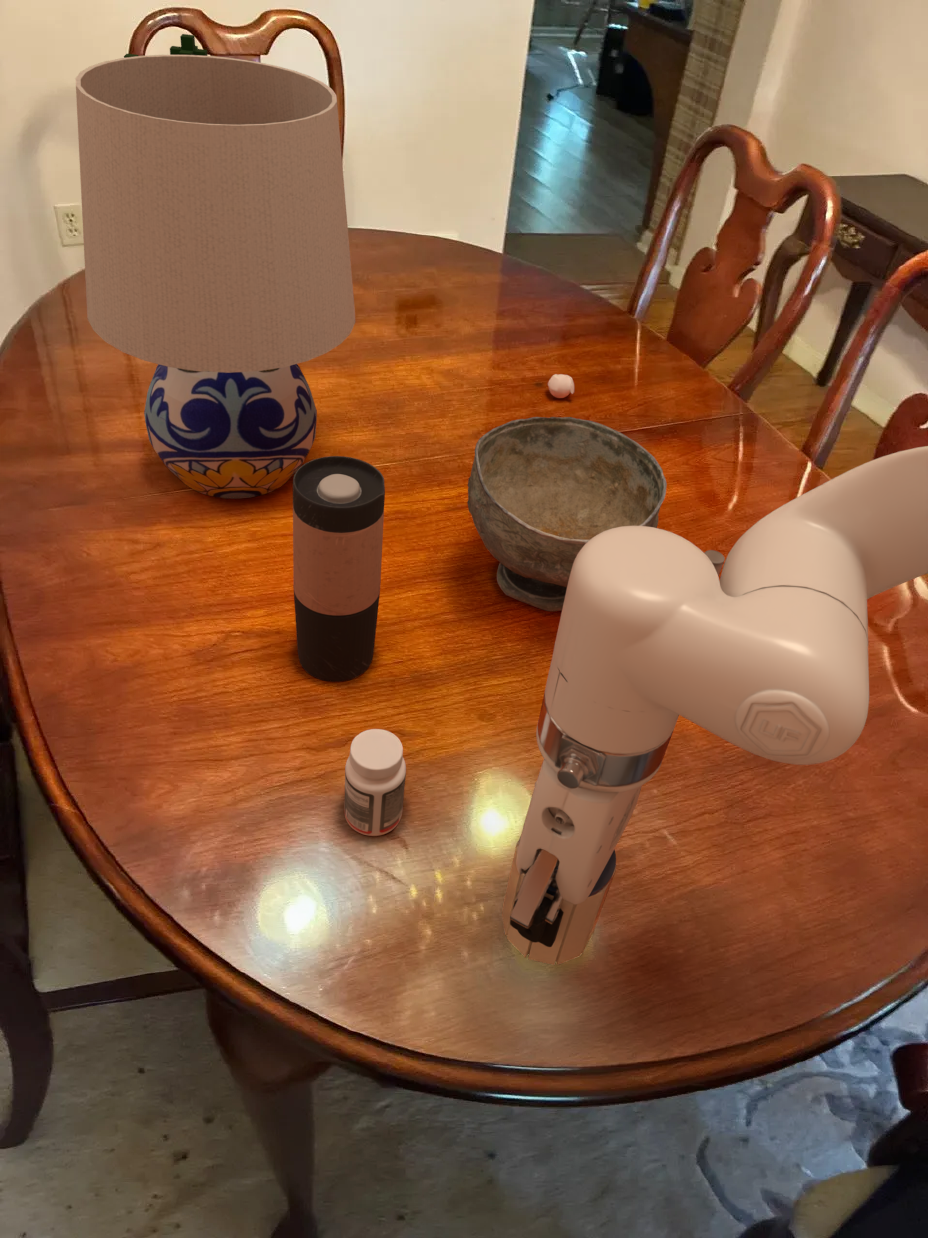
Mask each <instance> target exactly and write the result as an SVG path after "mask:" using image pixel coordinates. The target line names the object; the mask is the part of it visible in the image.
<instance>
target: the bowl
mask: <svg viewBox="0 0 928 1238" xmlns="http://www.w3.org/2000/svg"><path fill="white" fill-rule="evenodd" d="M667 486H668V483H667V480H666V477H665V475H664V470H663V468H662V467H661V465H660V464H659V462H658V460H657V459H656V458H655V456H653V454H652V453H650V452H649V451H648V450H647V449H646V448H645V447H644V446H642V445H641V444H639V442H637V441H635V440H633V439H632V438H631V437H628V436H627V435H625V434H624V433H622V432H620V431H618V430H616V429H614V428H611V427H609V426H607V425H605V424H602V423H599V422H597V421H593V420H587V419H582V418H575V417H572V416H564V417H561V416H550V417H544V416H533V417H528V418H518V419H513V420H511V421H508V422H506V423H503V424H501V425H499V426H496V427H494V428H492V429H491V430H489V431H487V432H485V434H483V435H482V436H480V437H479V439H478V440H477V442H476V444H475V448H474V457H473V462H472V466H471V471H470V476H469V477H468V479H467V502H466V503H467V508H468V512H469V513H470V515H471V519H472V523H473V525H474V527H475V528H476V531H477V534H478V535H479V537H480V539H481V541H482V543H483V545H484V547H485V549H486V550H487V551H488V552H489V553H490V555H491V556H492V557H493V558H494V559H495V560H497V561H498V562H499V563H498V566H497V570H496V581H497V585H498V586H499V588H500V589H501V591H502V592H503V593H504V594H505V596H506V597H507V596H508V597H510V598H512V599H514V600H517V601H518V602H521V603H524V604H526V605H529V606H531V607H534V608H537V609H540V610H542V611H545V612H560V611H561V612H562V609H563V604H564V599H565V595H566V590H567V585H568V581H569V576H570V573H571V570H572V566H573V563H574V560H575V558H576V556H577V554H578V553H579V551H580V550H581V549H582V547H583V546H584V545H585V544H586V543H587V542H588V541H589V540H590V539H592V538H593V537H595V536H596V535H598V534H600V533H602V532H604V531H606V530H609V529H612V528H617V527H622V526H647V527H654V528H658V526H659V525H658V524H659V514H660V510H661V506H662V504H663V502H664V501H665V498H666V494H667Z"/></svg>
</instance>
